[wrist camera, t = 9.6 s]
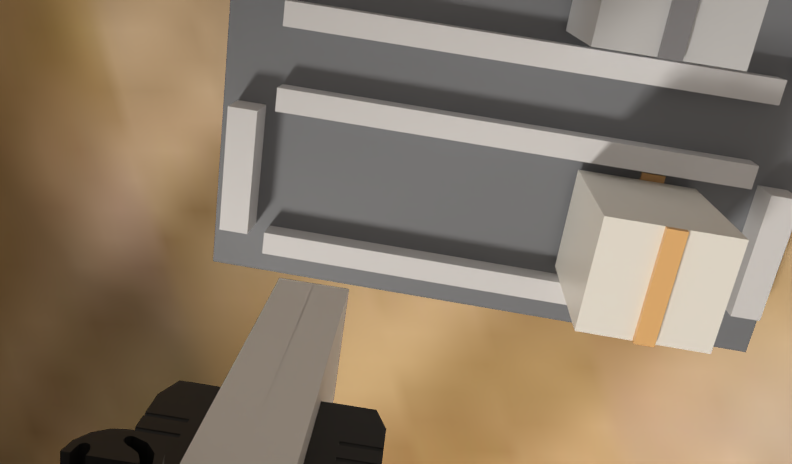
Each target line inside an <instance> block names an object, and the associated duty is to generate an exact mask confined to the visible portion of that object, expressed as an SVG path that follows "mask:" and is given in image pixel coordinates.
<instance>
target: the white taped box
mask: <svg viewBox="0 0 792 464" xmlns="http://www.w3.org/2000/svg"><path fill="white" fill-rule="evenodd" d="M748 242H749V240H748V239H747V238H746V237H745V236H744V235H743V234H742V233H741V232H740V231H739V230H738V229H737V228H736V227H735V226H734V225H733V224H732V223H731V222H730V221H729V220H728V219H727V218H726V217H725V216H723V215H722V214H721V213H720V212H719V211H718V210H717V209H716V208H715V207H714V206H713V205H712V204H711V203H710V202H709V201H708V200H707V199H706V198H705V197H704V196H703V195H702V194H701V193H700V192H698V191H697V190H696V189H694V188H688V187H682V186H675V185H669V184H663V183H657V182H651V181H645V180H639V179H633V178H627V177H621V176H615V175H609V174H602V173H596V172H590V171H584V170H578V172H577V177H576V181H575V185H574V189H573V193H572V197H571V202H570V206H569V210H568V214H567V218H566V222H565V226H564V231H563V235H562V239H561V243H560V247H559V251H558V256H557V260H556V264H555V268H556V271H557V274H558V278H559V281H560V284H561V288H562V291H563V294H564V297H565V301H566V304H567V307H568V311H569V314H570V317H571V320H572V324H573V327H574V330H575V331H579V332H585V333H591V334H597V335H602V336H608V337H614V338H620V339H626V340H632V341H633V343H634V344H637V345H643V346H649V347H655V345H661V346H667V347H673V348H678V349H684V350H690V351H696V352H702V353H708V354H711V352H712V349H713V346H714V343H715V340H716V337H717V334H718V331H719V328H720V325H721V322H722V319H723V316H724V313H725V310H726V307H727V304H728V301H729V298H730V295H731V292H732V289H733V286H734V283H735V281H736V278H737V275H738V272H739V269H740V266H741V263H742V260H743V257H744V254H745V251H746V248H747V245H748Z"/></svg>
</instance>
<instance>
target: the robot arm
mask: <svg viewBox="0 0 792 464" xmlns="http://www.w3.org/2000/svg"><path fill="white" fill-rule="evenodd" d="M348 292H349V289H346V288H339V287H333V286H327V285H321V284H314V283H308V282H302V281H296V280H289V279H283V278H279V280H278V282H277V284H276V285H275V287H274V289H273V291H272V293H271V295H270V297H269V298H268V300H267V302H266V304H265V306H264V308H263V310H262V312H261V313H260V315H259V317H258V319H257V321H256V323H255V325H254V326H253V328H252V330H251V332H250V334H249V336H248V338H247V339H246V341H245V343H244V345H243V347H242V349H241V351H240V352H239V354H238V356H237V358H236V360H235V362H234V364H233V365H232V367H231V369H230V371H229V373H228V375H227V377H226V378H225V380H224V382H223V384H222V386H221V387H217V386H211V385H205V384H199V383H193V382H186V381H178V382H177V383H175V384H173V385H172V386H170V387H169V388H167V389H165V390H164V391H162V392H161V393H159V394H158V395H157V396H156V398H155V399H154V401H153V402H152V404H151V405H150V406H149V408H148V409H147V411H146V413H145V416H143V417H142V418H141V420H140V421H139V423H138V424H137V426H136V428H135V431H134V430H130V429H107V430H102V431H96V432H91V433H89V434H86V435H84V436H82V437H79V438H77V439H75V440H73V441H72V442H70V443H69V444H68V445H67V446H66V447H65V448H63V449H62V450H61V451H60V464H382V457H383V449H384V441H385V433H386V428H385V426H384V424H383V422H382V420H381V418H380V416H379V414H378V412H377V410H373V409H367V408H361V407H354V406H348V405H342V404H336V403H333V400H334V394H335V386H336V379H337V372H338V365H339V357H340V350H341V343H342V336H343V329H344V321H345V314H346V307H347V300H348Z"/></svg>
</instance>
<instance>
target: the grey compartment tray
mask: <svg viewBox="0 0 792 464" xmlns="http://www.w3.org/2000/svg"><path fill="white" fill-rule="evenodd" d="M572 1H573V0H230V14H229V29H228V44H227V59H226V74H225V90H224V105H223V120H222V135H221V150H220V166H219V181H218V196H217V211H216V226H215V242H214V257H213V261H215V262H221V263H227V264H233V265H239V266H245V267H251V268H256V269H262V270H268V271H274V272H280V273H286V274H292V275H297V276H303V277H309V278H315V279H321V280H327V281H333V282H338V283H344V284H350V285H356V286H362V287H368V288H374V289H379V290H385V291H391V292H397V293H403V294H409V295H415V296H420V297H426V298H432V299H438V300H444V301H450V302H456V303H461V304H467V305H473V306H479V307H485V308H491V309H497V310H502V311H508V312H514V313H520V314H526V315H532V316H538V317H543V318H549V319H555V320H561V321H567V322H572V320H571V317H570V314H569V311H568V307H567V304H566V301H565V297H564V294H563V291H562V288H561V284H560V281H559V278H558V274H557V271H556V268H555V264H556V260H557V256H558V251H559V247H560V243H561V239H562V235H563V231H564V226H565V222H566V218H567V214H568V210H569V206H570V202H571V197H572V193H573V189H574V185H575V181H576V177H577V172H578V170H584V171H590V172H596V173H602V174H609V175H615V176H621V177H627V178H633V179H639V180H645V181H651V182H657V183H663V184H669V185H675V186H682V187H688V188H694V189H696V190H697V191H698V192H700V193H701V194H702V195H703V196H704V197H705V198H706V199H707V200H708V201H709V202H710V203H711V204H712V205H713V206H714V207H715V208H716V209H717V210H718V211H719V212H720V213H721V214H722V215H723V216H725V217H726V218H727V219H728V220H729V221H730V222H731V223H732V224H733V225H734V226H735V227H736V228H737V229H738V230H739V231H740V232H741V233H742V234H743V235H744V236H745V237H746V238H747V239H748V240H749V242H748V245H747V248H746V251H745V254H744V257H743V260H742V263H741V266H740V269H739V272H738V275H737V278H736V281H735V283H734V286H733V289H732V292H731V295H730V298H729V301H728V304H727V307H726V310H725V313H724V316H723V319H722V322H721V325H720V328H719V331H718V334H717V337H716V340H715V343H714V346H713V347H719V348H725V349H731V350H737V351H742V352H746V350H747V347H748V344H749V341H750V338H751V336H752V333H753V330H754V327H755V324H756V321H760V319H761V316H762V313H763V310H764V307H765V305H766V302H767V299H768V296H769V293H770V291H771V288H772V285H773V282H774V279H775V277H776V274H777V271H778V268H779V265H780V262H781V260H782V257H783V254H784V251H785V248H786V246H787V243H788V240H789V237H790V234H791V231H792V0H769V1H768V5H767V8H766V11H765V14H764V18H763V21H762V24H761V27H760V31H759V34H758V37H757V40H756V44H755V47H754V50H753V53H752V57H751V60H750V63H749V66H748V70H747V71H741V70H735V69H728V68H722V67H716V66H709V65H703V64H697V63H691V62H684V61H683V62H680V61H674V60H668V59H662V58H658V57H653V56H647V55H640V54H634V53H628V52H621V51H615V50H609V49H603V48H596V47H591V46H589V45H588V44H586V43H584V42H583V41H581V40H580V39H578V38H577V37H575V36H573V35H572V34H570V33H569V32H567V31H566V28H567V23H568V19H569V14H570V10H571V5H572Z"/></svg>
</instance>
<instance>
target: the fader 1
mask: <svg viewBox="0 0 792 464" xmlns="http://www.w3.org/2000/svg"><path fill="white" fill-rule="evenodd" d="M768 1H769V0H573V1H572V5H571V10H570V14H569V19H568V23H567V28H566V31H567V32H569V33H570V34H572V35H573V36H575V37H577V38H578V39H580V40H581V41H583V42H584V43H586V44H588V45H589V46H591V47H596V48H603V49H609V50H615V51H621V52H628V53H634V54H640V55H647V56H653V57H658V58H662V59H668V60H674V61H680V62H683V61H684V62H691V63H697V64H703V65H709V66H716V67H722V68H728V69H735V70H741V71H747V70H748V66H749V63H750V60H751V57H752V53H753V50H754V47H755V44H756V40H757V37H758V34H759V31H760V27H761V24H762V21H763V18H764V14H765V11H766V8H767V5H768Z"/></svg>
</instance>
